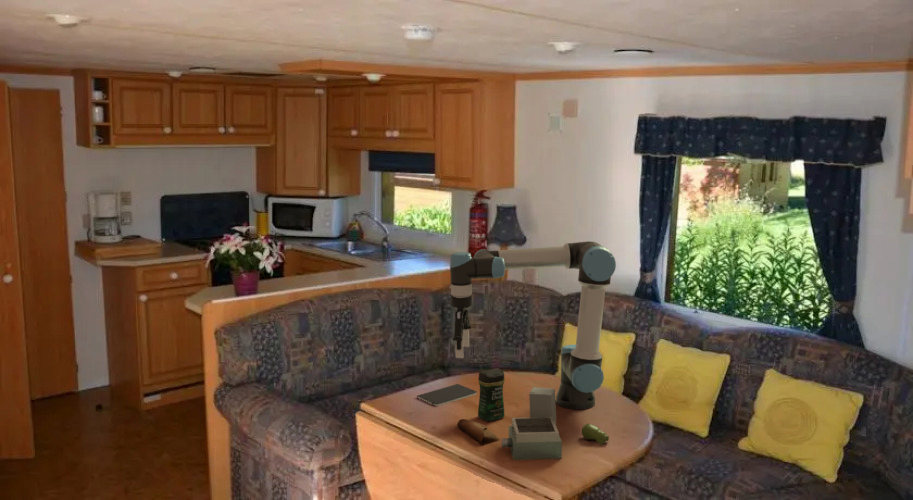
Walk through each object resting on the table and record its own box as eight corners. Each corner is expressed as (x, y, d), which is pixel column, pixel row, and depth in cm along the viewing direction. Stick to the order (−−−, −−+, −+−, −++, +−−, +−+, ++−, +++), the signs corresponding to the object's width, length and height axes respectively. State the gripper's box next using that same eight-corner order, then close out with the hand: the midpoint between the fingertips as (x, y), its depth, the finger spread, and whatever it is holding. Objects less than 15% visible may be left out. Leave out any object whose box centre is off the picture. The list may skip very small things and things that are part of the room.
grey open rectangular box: (554, 441, 280) (554, 416, 279) (561, 458, 267) (561, 432, 265) (500, 442, 280) (500, 418, 278) (504, 460, 266) (504, 434, 264)
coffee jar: (486, 423, 296) (486, 375, 293) (474, 417, 303) (474, 369, 300) (508, 418, 302) (508, 370, 298) (496, 411, 308) (495, 364, 305)
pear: (588, 419, 285) (612, 431, 279) (586, 432, 286) (610, 444, 280) (579, 424, 281) (604, 436, 275) (577, 437, 282) (601, 449, 276)
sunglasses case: (503, 440, 282) (494, 426, 279) (488, 453, 279) (479, 440, 277) (476, 422, 297) (468, 409, 295) (462, 435, 295) (454, 422, 292)
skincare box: (556, 430, 290) (556, 387, 287) (552, 437, 284) (552, 394, 281) (533, 427, 293) (533, 385, 290) (528, 434, 286) (528, 392, 283)
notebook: (457, 387, 337) (416, 399, 323) (457, 383, 336) (416, 395, 323) (477, 395, 327) (436, 408, 314) (477, 391, 327) (436, 404, 314)
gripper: (456, 287, 304) (458, 341, 308) (444, 303, 280) (446, 362, 284) (476, 287, 303) (477, 342, 306) (466, 303, 279) (467, 363, 282)
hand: (462, 352), depth 295 cm, fingers open, 13 cm apart
